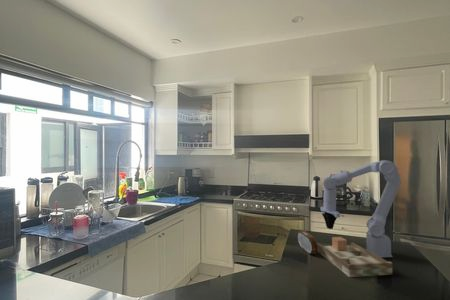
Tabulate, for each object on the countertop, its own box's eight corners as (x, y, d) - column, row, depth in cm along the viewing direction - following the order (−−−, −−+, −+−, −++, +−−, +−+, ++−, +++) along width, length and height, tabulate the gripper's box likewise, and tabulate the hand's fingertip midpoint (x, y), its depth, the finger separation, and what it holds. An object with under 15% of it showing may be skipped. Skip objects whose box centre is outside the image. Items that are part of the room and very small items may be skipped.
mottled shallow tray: (352, 249, 118) (352, 240, 118) (392, 274, 94) (392, 262, 94) (317, 251, 115) (317, 242, 115) (349, 277, 91) (349, 265, 92)
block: (340, 246, 115) (340, 236, 116) (346, 250, 111) (346, 240, 111) (332, 246, 115) (332, 237, 115) (337, 250, 110) (337, 240, 111)
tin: (317, 256, 110) (317, 238, 110) (311, 257, 109) (311, 238, 109) (302, 244, 124) (302, 228, 125) (296, 244, 124) (296, 228, 124)
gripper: (315, 198, 128) (315, 224, 128) (330, 204, 114) (330, 233, 113) (327, 198, 129) (327, 223, 129) (344, 203, 114) (344, 232, 114)
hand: (329, 228), depth 121 cm, fingers closed
